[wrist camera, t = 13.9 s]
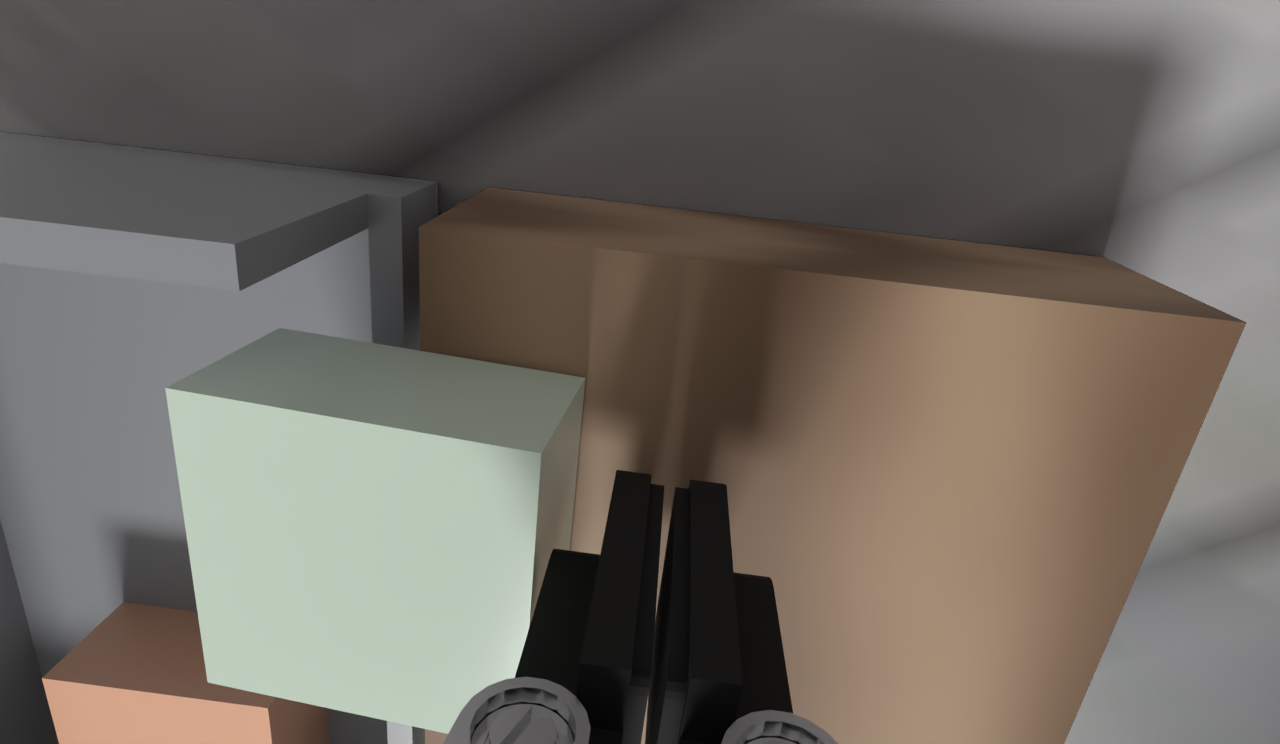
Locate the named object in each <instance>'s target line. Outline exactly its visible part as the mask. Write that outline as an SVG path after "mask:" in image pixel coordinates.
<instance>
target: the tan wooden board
mask: <svg viewBox="0 0 1280 744" xmlns="http://www.w3.org/2000/svg"><path fill="white" fill-rule="evenodd" d="M419 290H420V351H425V352H431V353H437V354H443V355H449V356H455V357H461V358H467V359H473V360H480V361H486V362H492V363H498V364H504V365H510V366H516V367H522V368H528V369H535V370H541V371H547V372H553V373H559V374H565V375H571V376H577V377H583V378H585V388H584V399H583V410H582V421H581V432H580V443H579V454H578V465H577V476H576V487H575V497H574V508H573V519H572V530H571V541H570V551H577V552H584V553H592V554H599V555H600V554H601V548H602V543H603V538H604V533H605V527H606V522H607V517H608V512H609V506H610V501H611V496H612V491H613V485H614V480H615V475H616V470H622V471H630V472H638V473H645V474H652V475H651V484H656V485H664V500H663V514H662V529H661V543H660V558H659V573H658V587H657V602H656V612H657V605H658V598H659V592H660V585H661V578H662V572H663V565H664V558H665V551H666V545H667V538H668V531H669V525H670V518H671V511H672V505H673V498H674V492H675V487H679V488H687V489H688V488H689V483H690V480H699V481H706V482H714V483H722V484H726V486H727V496H728V508H729V521H730V534H731V546H732V559H733V571H734V572H735V573H742V574H750V575H757V576H765V577H770V578H771V579H772V582H773V586H774V592H775V599H776V605H777V612H778V618H779V625H780V631H781V638H782V644H783V651H784V657H785V664H786V670H787V677H788V683H789V690H790V696H791V702H792V709H793V714H795V715H797V716H800V717H802V718H805V719H808V720H810V721H811V722H813V723H814V724H816V725H817V726H819V727H820V728H822V729H823V730H825V731H826V732H828V733H829V734H830V736H831V737H832V738H833V739H834V740H835V741H836V742H837V743H838V744H1064V742H1065V740H1066V738H1067V735H1068V733H1069V731H1070V729H1071V726H1072V724H1073V722H1074V719H1075V717H1076V715H1077V712H1078V710H1079V708H1080V705H1081V703H1082V701H1083V698H1084V696H1085V694H1086V692H1087V689H1088V687H1089V685H1090V682H1091V680H1092V678H1093V675H1094V673H1095V671H1096V668H1097V666H1098V664H1099V662H1100V659H1101V657H1102V655H1103V652H1104V650H1105V648H1106V645H1107V643H1108V641H1109V638H1110V636H1111V634H1112V632H1113V629H1114V627H1115V625H1116V622H1117V620H1118V618H1119V615H1120V613H1121V611H1122V608H1123V606H1124V604H1125V601H1126V599H1127V597H1128V595H1129V592H1130V590H1131V588H1132V585H1133V583H1134V581H1135V578H1136V576H1137V574H1138V571H1139V569H1140V567H1141V565H1142V562H1143V560H1144V558H1145V555H1146V553H1147V551H1148V548H1149V546H1150V544H1151V541H1152V539H1153V537H1154V535H1155V532H1156V530H1157V528H1158V525H1159V523H1160V521H1161V518H1162V516H1163V514H1164V511H1165V509H1166V507H1167V504H1168V502H1169V500H1170V498H1171V495H1172V493H1173V491H1174V488H1175V486H1176V484H1177V481H1178V479H1179V477H1180V474H1181V472H1182V470H1183V468H1184V465H1185V463H1186V461H1187V458H1188V456H1189V454H1190V451H1191V449H1192V447H1193V444H1194V442H1195V440H1196V437H1197V435H1198V433H1199V431H1200V428H1201V426H1202V424H1203V421H1204V419H1205V417H1206V414H1207V412H1208V410H1209V407H1210V405H1211V403H1212V401H1213V398H1214V396H1215V394H1216V391H1217V389H1218V387H1219V384H1220V382H1221V380H1222V377H1223V375H1224V373H1225V371H1226V368H1227V366H1228V364H1229V361H1230V359H1231V357H1232V354H1233V352H1234V350H1235V347H1236V345H1237V343H1238V340H1239V338H1240V336H1241V334H1242V331H1243V329H1244V327H1245V324H1246V322H1244V321H1242V320H1239V319H1237V318H1235V317H1233V316H1231V315H1228V314H1226V313H1224V312H1222V311H1220V310H1218V309H1215V308H1213V307H1211V306H1209V305H1207V304H1205V303H1202V302H1200V301H1198V300H1196V299H1194V298H1192V297H1189V296H1187V295H1185V294H1183V293H1181V292H1178V291H1176V290H1174V289H1172V288H1170V287H1168V286H1165V285H1163V284H1161V283H1159V282H1157V281H1155V280H1152V279H1150V278H1148V277H1146V276H1144V275H1142V274H1139V273H1137V272H1135V271H1133V270H1131V269H1128V268H1126V267H1124V266H1122V265H1120V264H1118V263H1115V262H1113V261H1111V260H1109V259H1107V258H1105V257H1097V256H1088V255H1079V254H1070V253H1061V252H1053V251H1044V250H1035V249H1026V248H1018V247H1009V246H1000V245H991V244H982V243H974V242H965V241H956V240H947V239H939V238H930V237H921V236H912V235H903V234H895V233H886V232H877V231H868V230H859V229H851V228H842V227H833V226H824V225H816V224H807V223H798V222H789V221H780V220H772V219H763V218H754V217H745V216H737V215H728V214H719V213H710V212H701V211H693V210H684V209H675V208H666V207H657V206H649V205H640V204H631V203H622V202H614V201H605V200H596V199H587V198H578V197H570V196H561V195H552V194H543V193H534V192H526V191H517V190H508V189H499V188H491V187H488V188H486V189H484V190H482V191H481V192H479V193H477V194H476V195H474V196H472V197H470V198H469V199H467V200H465V201H463V202H462V203H460V204H458V205H456V206H455V207H453V208H451V209H449V210H448V211H446V212H444V213H442V214H441V215H439V216H437V217H436V218H434V219H432V220H430V221H429V222H427V223H425V224H423V225H422V226H420V227H419ZM655 618H656V616H655ZM647 707H648V700H647V706H646V713H645V720H644V726H643V733H642V739H641V744H645V735H646V721H647ZM447 735H448V734H446V733H441V732H437V731H432V730H427V729H425V744H443V742H444V740H445V739H446V737H447Z"/></svg>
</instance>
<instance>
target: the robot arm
mask: <svg viewBox="0 0 1280 744" xmlns="http://www.w3.org/2000/svg"><path fill="white" fill-rule="evenodd" d="M651 475H652V474H645V473H638V472H630V471H622V470H616V475H615V480H614V485H613V491H612V496H611V501H610V506H609V512H608V517H607V522H606V527H605V533H604V538H603V543H602V548H601V554H600V555H599V554H592V553H584V552H577V551H569V550H562V549H553V550H552V553H551V556H550V559H549V562H548V566H547V569H546V572H545V576H544V579H543V583H542V586H541V590H540V593H539V596H538V600H537V603H536V607H535V610H534V613H533V617H532V620H531V624H530V627H529V631H528V634H527V637H526V641H525V644H524V648H523V651H522V655H521V658H520V661H519V665H518V668H517V672H516V675H515V678H510V679H505V680H502V681H500V682H497V683H494V684H491V685H489V686H487V687H486V688H484V689H483V690H481V691H480V692H478V693H477V694H476V695H474V696H473V697H472V698H471V699H470V700H469V702H468V703H467V704H466V705H465V707H464V708H463V709H462V710H461V712H460V714H459V715H458V717H457V719H456V721H455V723H454V724H453V726H452V728H451V730H450V732H449V733H448V735H447V737H446V739H445V740H444V742H443V744H641V739H642V733H643V726H644V720H645V713H646V706H647V700H648V707H647V721H646V735H645V744H838V743H837V742H836V741H835V740H834V739H833V738H832V737H831V736H830V734H829V733H828V732H826V731H825V730H823V729H822V728H820V727H819V726H817V725H816V724H814V723H813V722H811V721H810V720H808V719H805V718H802V717H800V716H797V715H795V714H793V709H792V702H791V696H790V690H789V683H788V677H787V670H786V664H785V657H784V651H783V644H782V638H781V631H780V625H779V618H778V612H777V605H776V599H775V592H774V586H773V582H772V579H771V578H770V577H765V576H757V575H750V574H742V573H735V572H734V571H733V559H732V546H731V534H730V521H729V508H728V496H727V486H726V484H722V483H714V482H706V481H699V480H690V483H689V488H688V489H687V488H679V487H675V492H674V498H673V505H672V511H671V518H670V525H669V531H668V538H667V545H666V551H665V558H664V565H663V572H662V578H661V585H660V592H659V598H658V605H657V612H656V602H657V587H658V573H659V558H660V543H661V529H662V514H663V500H664V485H656V484H651ZM655 616H656V618H655Z"/></svg>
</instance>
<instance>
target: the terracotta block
mask: <svg viewBox="0 0 1280 744" xmlns="http://www.w3.org/2000/svg"><path fill="white" fill-rule="evenodd" d="M42 681H43V685H44V689H45V692H46V696H47V700H48V704H49V707H50V711H51V715H52V719H53V723H54V726H55V730H56V734H57V738H58V741H59V744H330V733H329V720H328V708H325V707H320V706H315V705H311V704H306V703H301V702H297V701H292V700H287V699H283V698H278V697H273V696H269V695H264V694H259V693H255V692H250V691H245V690H241V689H236V688H231V687H227V686H222V685H217V684H213V683H208V682H207V675H206V668H205V661H204V654H203V647H202V640H201V633H200V626H199V619H198V612H195V611H187V610H180V609H172V608H164V607H157V606H149V605H141V604H134V603H126V602H123V603H122V604H121V605H120V606H119V607H117V608H116V609H115V610H114V611H113V612H112V613H111V614H110V615H109V616H108V617H107V618H106V619H105V620H104V621H102V622H101V623H100V624H99V625H98V626H97V627H96V628H95V629H94V630H93V631H92V632H91V633H90V634H89V635H87V636H86V637H85V638H84V639H83V640H82V641H81V642H80V643H79V644H78V645H77V646H76V647H75V648H74V649H72V650H71V651H70V652H69V653H68V654H67V655H66V656H65V657H64V658H63V659H62V660H61V661H60V662H59V663H58V664H56V665H55V666H54V667H53V668H52V669H51V670H50V671H49V672H48V673H47V674H46V675H45V676H44V677H43V678H42Z"/></svg>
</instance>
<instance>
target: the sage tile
mask: <svg viewBox="0 0 1280 744" xmlns="http://www.w3.org/2000/svg"><path fill="white" fill-rule="evenodd" d="M584 388H585V378H583V377H577V376H571V375H565V374H559V373H553V372H547V371H541V370H535V369H528V368H522V367H516V366H510V365H504V364H498V363H492V362H486V361H480V360H473V359H467V358H461V357H455V356H449V355H443V354H437V353H431V352H425V351H418V350H412V349H406V348H400V347H394V346H388V345H382V344H376V343H369V342H363V341H357V340H351V339H345V338H339V337H333V336H327V335H321V334H314V333H308V332H302V331H296V330H290V329H284V328H279V329H277V330H275V331H273V332H271V333H269V334H267V335H265V336H263V337H261V338H260V339H258V340H256V341H254V342H252V343H250V344H248V345H246V346H244V347H242V348H240V349H239V350H237V351H235V352H233V353H231V354H229V355H227V356H225V357H223V358H221V359H219V360H218V361H216V362H214V363H212V364H210V365H208V366H206V367H204V368H202V369H200V370H198V371H197V372H195V373H193V374H191V375H189V376H187V377H185V378H183V379H181V380H179V381H177V382H176V383H174V384H172V385H170V386H168V387H166V388H165V390H166V397H167V404H168V411H169V418H170V425H171V432H172V439H173V446H174V453H175V460H176V466H177V473H178V480H179V487H180V494H181V501H182V508H183V515H184V522H185V529H186V536H187V543H188V550H189V557H190V564H191V571H192V578H193V585H194V592H195V598H196V605H197V612H198V619H199V626H200V633H201V640H202V647H203V654H204V661H205V668H206V675H207V682H208V683H213V684H217V685H222V686H227V687H231V688H236V689H241V690H245V691H250V692H255V693H259V694H264V695H269V696H273V697H278V698H283V699H287V700H292V701H297V702H301V703H306V704H311V705H315V706H320V707H325V708H329V709H334V710H339V711H343V712H348V713H353V714H357V715H362V716H367V717H371V718H376V719H381V720H385V721H390V722H395V723H399V724H404V725H409V726H413V727H418V728H423V729H427V730H432V731H437V732H441V733H446V734H448V733H449V732H450V730H451V728H452V726H453V724H454V723H455V721H456V719H457V717H458V715H459V714H460V712H461V710H462V709H463V708H464V707H465V705H466V704H467V703H468V702H469V700H470V699H471V698H472V697H473V696H474V695H476V694H477V693H478V692H480V691H481V690H483V689H484V688H486V687H487V686H489V685H491V684H494V683H497V682H500V681H502V680H505V679H510V678H515V675H516V672H517V668H518V665H519V661H520V658H521V655H522V651H523V648H524V644H525V641H526V637H527V634H528V631H529V627H530V624H531V620H532V617H533V613H534V610H535V607H536V603H537V600H538V596H539V593H540V590H541V586H542V583H543V579H544V576H545V572H546V569H547V566H548V562H549V559H550V556H551V553H552V550H553V549H562V550H569V551H570V541H571V530H572V519H573V508H574V497H575V487H576V476H577V465H578V454H579V443H580V432H581V421H582V410H583V399H584Z"/></svg>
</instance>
